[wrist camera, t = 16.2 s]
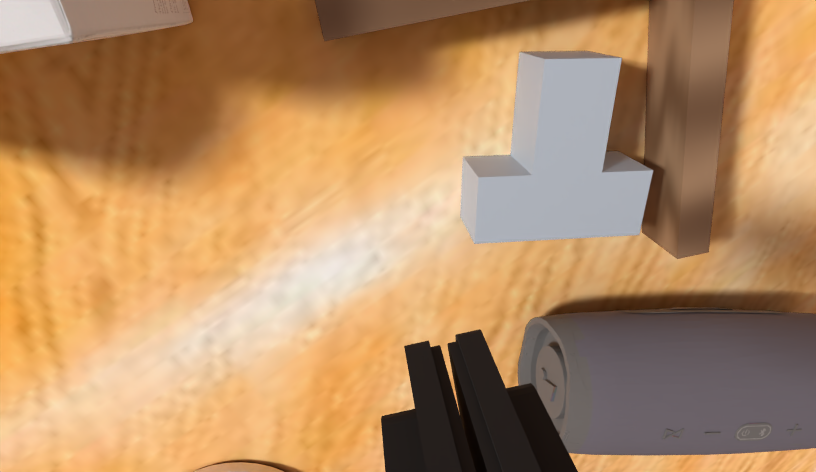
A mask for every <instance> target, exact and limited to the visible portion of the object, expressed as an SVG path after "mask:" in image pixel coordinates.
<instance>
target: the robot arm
mask: <svg viewBox="0 0 816 472" xmlns="http://www.w3.org/2000/svg"><path fill="white" fill-rule="evenodd" d="M448 351H449V356H450V362H451V367H452V373H453V379H454V384H455V390H456V395H457V401H458V407H459V411H458V407H457V404H456V400H455V396H454V393H453V389H452V386H451V382H450V379H449V375H448V372H447V368H446V365H445V361H444V358H443V354H442V351H441V347H440V345H439V346H434V347H430V344H429V341H425V342H420V343H416V344H411V345H407V346H405V353H406V358H407V364H408V370H409V376H410V381H411V387H412V393H413V398H414V404H415V409H412V410H408V411H403V412H399V413H394V414H390V415H385V416H382V418H381V423H382V436H383V448H384V459H385V471H386V472H578V471H577V469H576V467H575V465H574V463H573V461H572V459H571V457H570V455H569V453H568V451H567V449H566V447H565V445H564V443H563V442H562V440H561V438H560V436H559V434H558V432H557V430H556V428H555V426H554V424H553V422H552V420H551V418H550V416H549V414H548V412H547V410H546V408H545V406H544V404H543V402H542V400H541V398H540V396H539V394H538V392H537V390H536V389H535V387H534V385H533V384H531V383H529V384H524V385H520V386H515V387H511V388H505V385H504V383H503V381H502V378H501V376H500V374H499V371H498V369H497V367H496V364H495V362H494V360H493V357H492V355H491V352H490V350H489V348H488V345H487V343H486V341H485V338H484V336H483V334H482V332H481V330H475V331H471V332H466V333H461V334H457V335H456V342H452V343H448ZM459 412H460V414H459ZM194 472H284V471H281V470H279V469H276V468H274V467H271V466H266V465H262V464H257V463H246V462H234V463H223V464H217V465H212V466H208V467H205V468H202V469H199V470H196V471H194Z"/></svg>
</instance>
